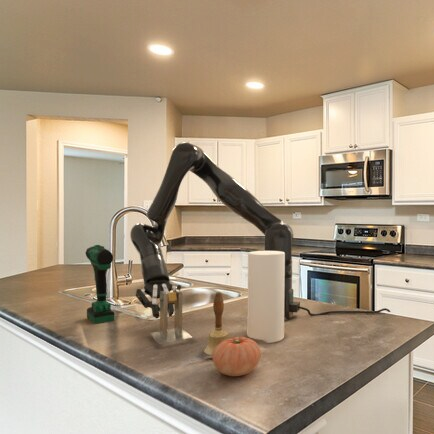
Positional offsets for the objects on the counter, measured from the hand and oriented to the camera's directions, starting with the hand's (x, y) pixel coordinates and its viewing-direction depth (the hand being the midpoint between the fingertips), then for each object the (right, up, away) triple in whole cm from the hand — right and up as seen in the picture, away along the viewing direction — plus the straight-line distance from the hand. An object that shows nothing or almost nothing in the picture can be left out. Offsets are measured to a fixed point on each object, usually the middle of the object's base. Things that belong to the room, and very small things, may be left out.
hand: (164, 315), depth 116 cm
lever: (+2, +3, -3) cm, 5 cm away
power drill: (-31, -5, +16) cm, 35 cm away
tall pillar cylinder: (+31, -6, -3) cm, 32 cm away
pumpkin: (+28, -6, -28) cm, 40 cm away
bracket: (+4, -5, -6) cm, 9 cm away
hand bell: (+21, -6, -17) cm, 28 cm away
